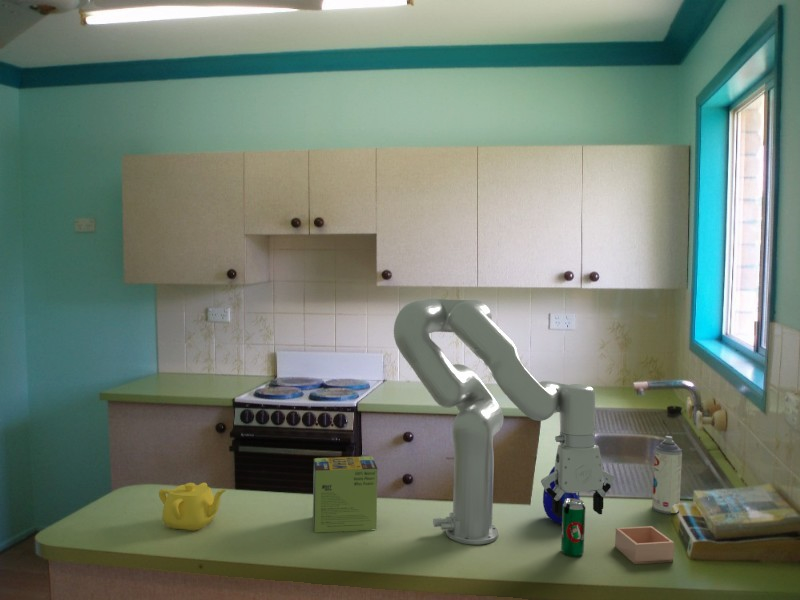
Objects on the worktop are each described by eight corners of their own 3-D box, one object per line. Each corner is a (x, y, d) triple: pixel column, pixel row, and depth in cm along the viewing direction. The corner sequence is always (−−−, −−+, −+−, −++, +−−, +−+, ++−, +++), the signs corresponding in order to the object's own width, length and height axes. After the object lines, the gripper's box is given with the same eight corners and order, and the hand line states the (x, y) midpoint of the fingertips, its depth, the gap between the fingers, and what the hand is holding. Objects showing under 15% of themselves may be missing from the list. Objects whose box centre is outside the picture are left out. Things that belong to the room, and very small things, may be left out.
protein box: (377, 530, 167) (378, 468, 166) (313, 533, 165) (314, 470, 163) (371, 514, 177) (373, 455, 176) (312, 516, 175) (312, 457, 174)
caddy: (635, 564, 151) (636, 544, 151) (614, 546, 160) (615, 528, 160) (673, 561, 153) (674, 542, 152) (650, 544, 162) (651, 526, 162)
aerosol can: (652, 503, 189) (656, 432, 188) (679, 507, 187) (682, 435, 185) (651, 511, 183) (654, 438, 182) (679, 515, 180) (682, 441, 179)
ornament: (581, 531, 169) (583, 471, 168) (543, 528, 170) (545, 469, 169) (576, 514, 180) (578, 458, 179) (541, 512, 181) (543, 456, 180)
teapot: (212, 511, 177) (212, 472, 177) (227, 528, 166) (227, 487, 166) (157, 520, 170) (157, 480, 170) (168, 539, 159) (168, 496, 159)
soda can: (567, 546, 160) (568, 496, 159) (587, 552, 157) (589, 501, 156) (557, 553, 156) (559, 501, 155) (577, 559, 153) (579, 507, 152)
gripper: (548, 446, 149) (548, 523, 150) (621, 441, 153) (621, 516, 153) (535, 438, 157) (535, 511, 158) (605, 433, 160) (605, 505, 161)
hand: (577, 514), depth 156 cm, fingers open, 9 cm apart
